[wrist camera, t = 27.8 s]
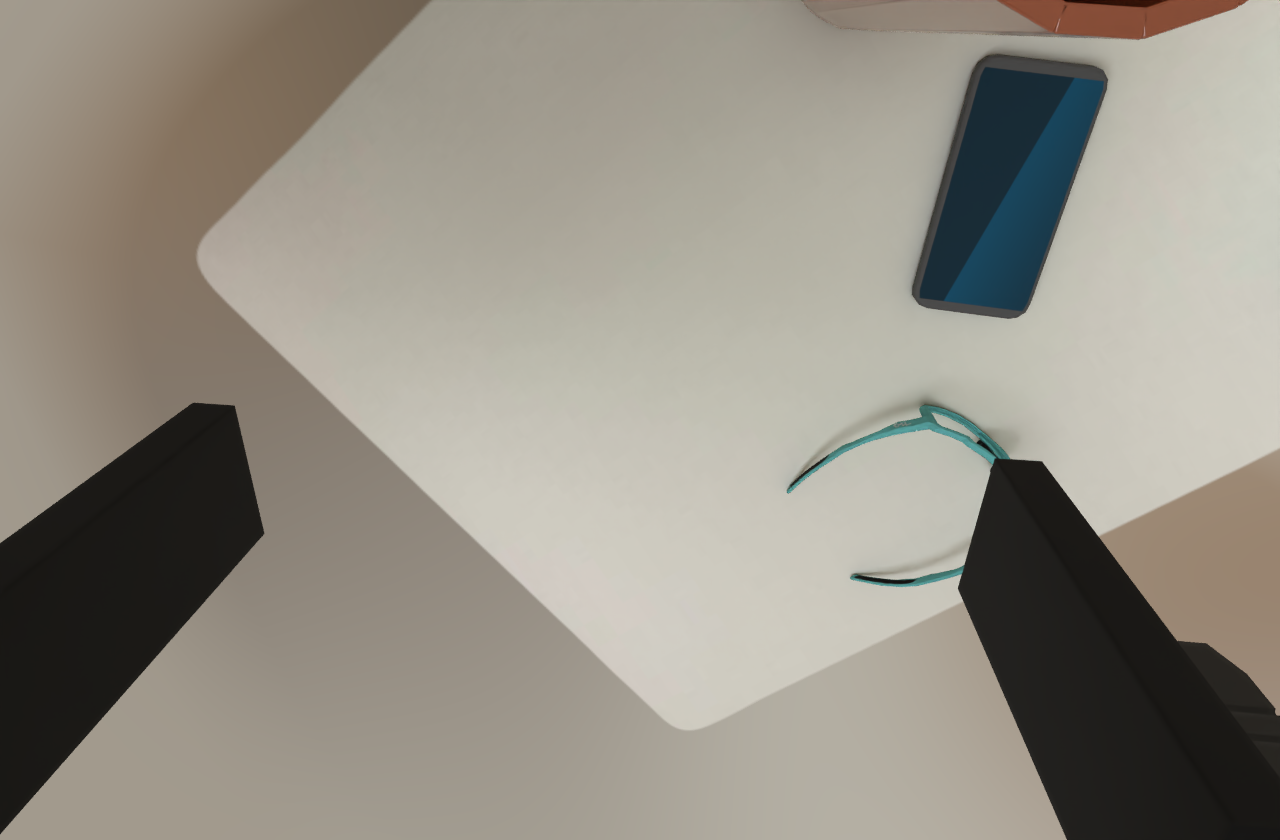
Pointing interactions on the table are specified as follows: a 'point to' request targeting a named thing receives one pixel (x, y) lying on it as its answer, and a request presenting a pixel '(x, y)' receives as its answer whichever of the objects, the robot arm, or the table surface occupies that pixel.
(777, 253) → the table surface
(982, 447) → the sunglasses
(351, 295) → the table surface
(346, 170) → the table surface
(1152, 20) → the tall brown vase
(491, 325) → the table surface
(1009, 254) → the smartphone
